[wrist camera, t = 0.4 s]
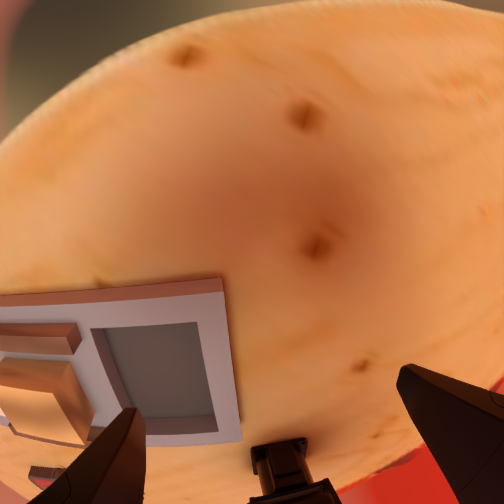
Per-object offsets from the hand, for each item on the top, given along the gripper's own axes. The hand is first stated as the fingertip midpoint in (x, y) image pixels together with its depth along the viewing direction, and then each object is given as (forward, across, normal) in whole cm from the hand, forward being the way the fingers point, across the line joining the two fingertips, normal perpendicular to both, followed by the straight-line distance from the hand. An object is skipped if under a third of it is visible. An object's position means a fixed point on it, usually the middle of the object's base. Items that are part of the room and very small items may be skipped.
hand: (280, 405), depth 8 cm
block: (+11, +18, +9) cm, 23 cm away
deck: (+14, +19, +9) cm, 25 cm away
